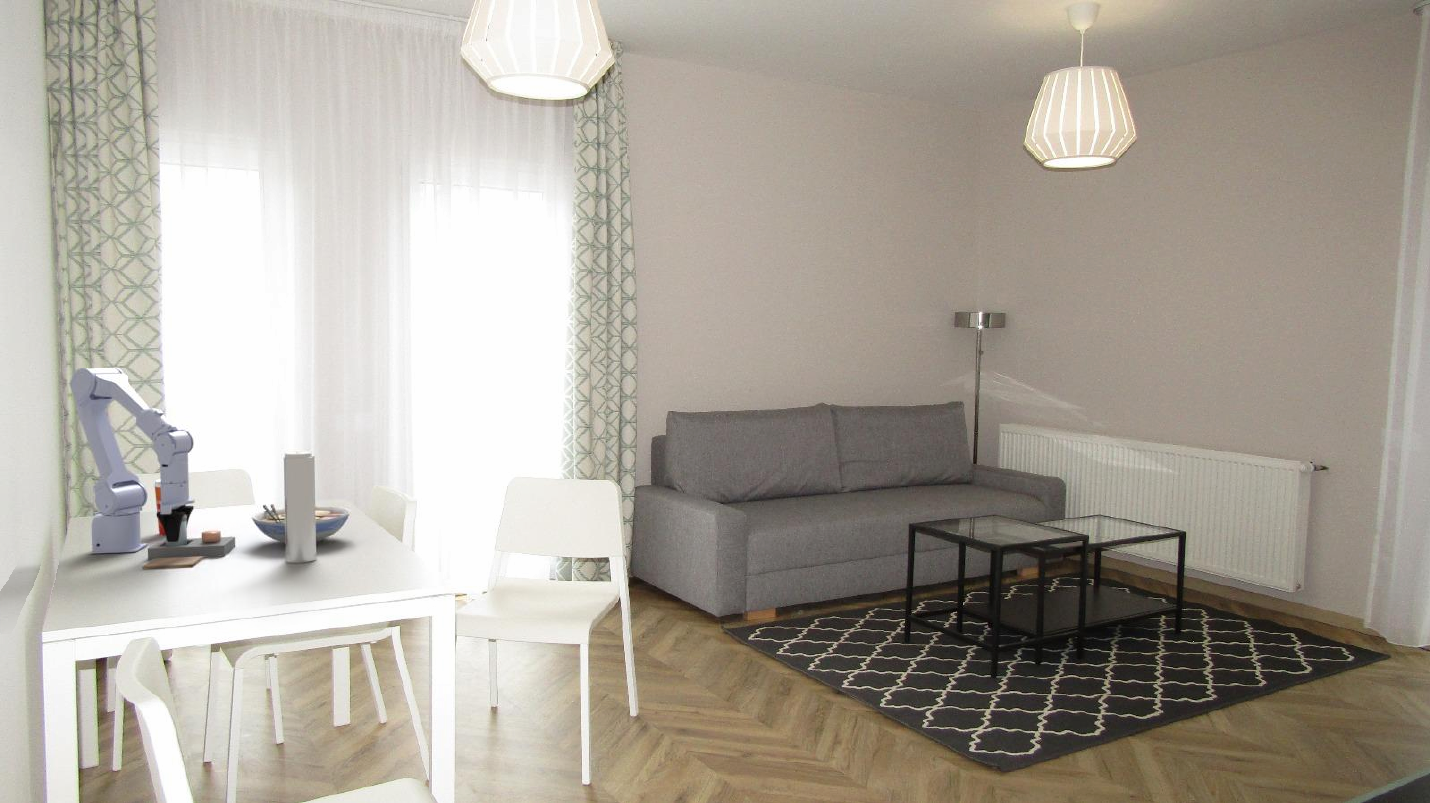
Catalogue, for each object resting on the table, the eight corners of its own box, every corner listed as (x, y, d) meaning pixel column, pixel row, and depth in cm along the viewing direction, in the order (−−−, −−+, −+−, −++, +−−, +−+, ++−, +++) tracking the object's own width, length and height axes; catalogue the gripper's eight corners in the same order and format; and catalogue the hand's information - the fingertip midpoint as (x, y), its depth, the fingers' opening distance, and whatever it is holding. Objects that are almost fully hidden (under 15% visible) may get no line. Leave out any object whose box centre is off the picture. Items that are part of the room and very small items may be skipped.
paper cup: (156, 531, 245) (155, 478, 244) (189, 529, 248) (188, 477, 247) (152, 537, 237) (151, 482, 237) (187, 534, 241) (185, 481, 240)
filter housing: (148, 559, 214) (147, 548, 213) (162, 549, 223) (162, 539, 223) (224, 555, 218) (224, 545, 217) (235, 546, 227) (235, 536, 227)
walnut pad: (142, 569, 204) (142, 566, 204) (154, 560, 212) (154, 558, 212) (192, 566, 207) (192, 564, 207) (203, 558, 215) (203, 556, 215)
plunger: (199, 542, 219) (199, 534, 219) (204, 539, 223) (204, 530, 223) (218, 541, 220) (218, 533, 220) (222, 538, 224) (222, 530, 224)
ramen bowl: (359, 547, 228) (359, 514, 227) (255, 557, 216) (254, 522, 216) (344, 529, 249) (343, 499, 249) (249, 537, 238) (248, 506, 238)
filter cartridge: (162, 556, 217) (161, 518, 216) (168, 551, 221) (167, 514, 221) (184, 555, 218) (183, 517, 217) (190, 551, 222) (189, 513, 222)
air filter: (304, 564, 210) (302, 454, 209) (279, 562, 212) (277, 453, 210) (322, 557, 217) (320, 451, 215) (297, 556, 218) (295, 450, 216)
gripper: (184, 486, 212) (185, 544, 213) (202, 477, 227) (203, 532, 227) (149, 487, 211) (151, 546, 212) (170, 478, 225) (171, 533, 226)
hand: (176, 539), depth 219 cm, fingers closed on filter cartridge, 4 cm apart
